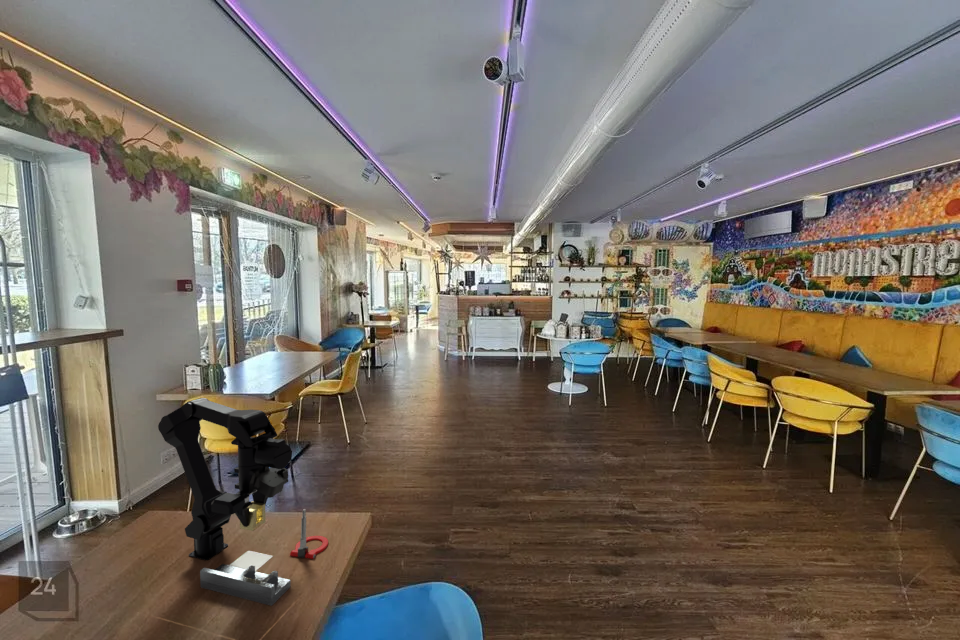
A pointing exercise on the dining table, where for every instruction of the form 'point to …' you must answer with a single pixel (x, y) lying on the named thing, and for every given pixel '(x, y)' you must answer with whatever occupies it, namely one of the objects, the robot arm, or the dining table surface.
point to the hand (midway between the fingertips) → (252, 521)
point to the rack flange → (245, 583)
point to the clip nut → (255, 516)
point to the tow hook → (301, 547)
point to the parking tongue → (251, 560)
